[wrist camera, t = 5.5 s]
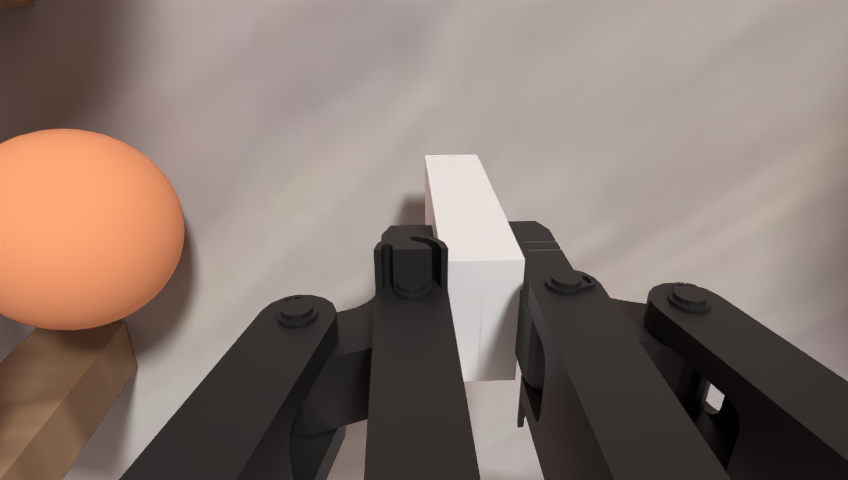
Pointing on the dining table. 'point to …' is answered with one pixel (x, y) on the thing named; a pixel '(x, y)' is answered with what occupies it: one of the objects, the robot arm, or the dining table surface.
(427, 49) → the dining table surface
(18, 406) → the bridge
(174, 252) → the ball
